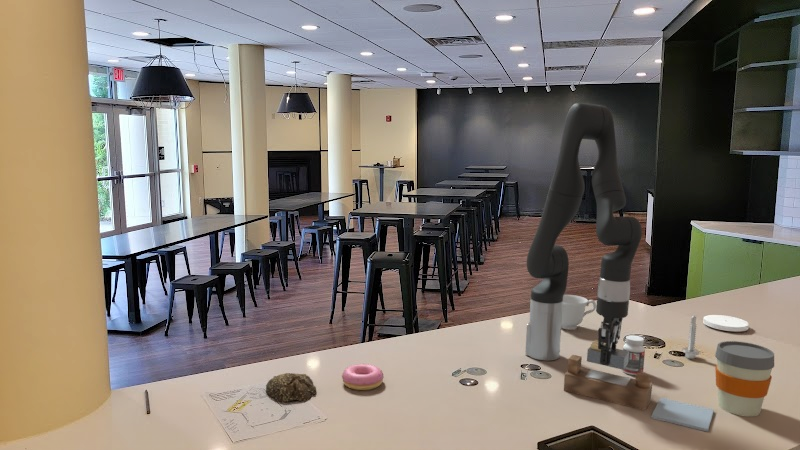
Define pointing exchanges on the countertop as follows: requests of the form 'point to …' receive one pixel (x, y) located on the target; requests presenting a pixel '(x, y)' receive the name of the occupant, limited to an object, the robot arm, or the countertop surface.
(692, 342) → the screw
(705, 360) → the countertop surface
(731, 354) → the reusable coffee cup
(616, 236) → the robot arm
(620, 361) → the lever cap
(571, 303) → the teacup
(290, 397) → the mossy brown rock
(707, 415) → the rubber mat
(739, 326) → the plastic lid
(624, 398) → the plane body
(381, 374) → the doughnut
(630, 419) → the countertop surface
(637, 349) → the pill bottle
